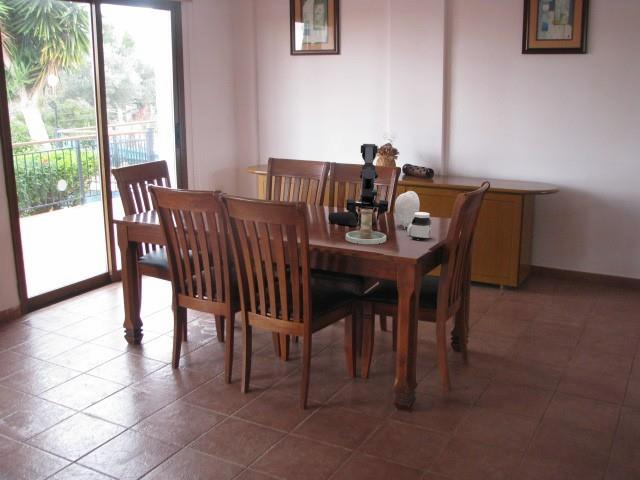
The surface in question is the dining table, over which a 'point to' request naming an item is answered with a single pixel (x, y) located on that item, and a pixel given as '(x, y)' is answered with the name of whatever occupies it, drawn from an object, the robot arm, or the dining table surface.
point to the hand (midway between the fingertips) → (366, 221)
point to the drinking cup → (343, 218)
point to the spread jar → (420, 226)
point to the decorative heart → (406, 207)
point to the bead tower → (366, 223)
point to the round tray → (355, 238)
